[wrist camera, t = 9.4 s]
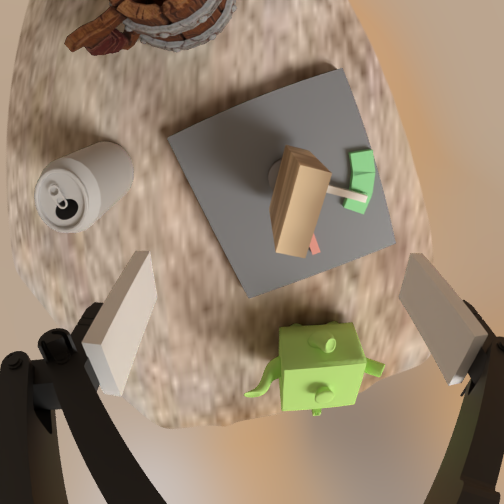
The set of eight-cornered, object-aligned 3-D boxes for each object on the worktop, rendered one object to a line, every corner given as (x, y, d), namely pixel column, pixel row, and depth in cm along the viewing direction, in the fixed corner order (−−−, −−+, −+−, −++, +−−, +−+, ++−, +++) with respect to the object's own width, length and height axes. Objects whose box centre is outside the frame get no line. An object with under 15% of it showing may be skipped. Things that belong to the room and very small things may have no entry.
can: (98, 208, 38) (51, 250, 27) (73, 156, 35) (16, 184, 24) (146, 185, 37) (107, 223, 26) (121, 129, 34) (70, 146, 23)
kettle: (243, 345, 48) (242, 403, 38) (312, 285, 43) (328, 341, 33) (310, 384, 52) (319, 437, 42) (375, 335, 48) (397, 388, 38)
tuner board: (171, 135, 34) (165, 139, 32) (337, 69, 31) (344, 67, 28) (248, 289, 43) (248, 302, 41) (390, 236, 40) (398, 246, 37)
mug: (267, 7, 27) (246, -29, 15) (169, 83, 33) (100, 101, 21) (202, -56, 23) (150, -106, 11) (114, 22, 29) (31, 18, 17)
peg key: (260, 201, 36) (265, 250, 25) (276, 140, 33) (289, 162, 22) (352, 222, 37) (389, 275, 26) (371, 166, 34) (420, 200, 23)
